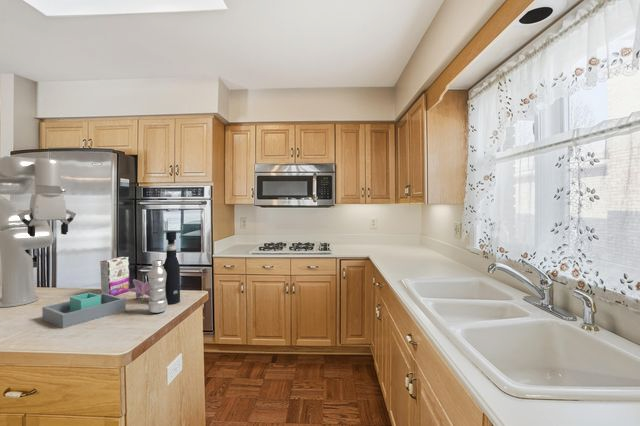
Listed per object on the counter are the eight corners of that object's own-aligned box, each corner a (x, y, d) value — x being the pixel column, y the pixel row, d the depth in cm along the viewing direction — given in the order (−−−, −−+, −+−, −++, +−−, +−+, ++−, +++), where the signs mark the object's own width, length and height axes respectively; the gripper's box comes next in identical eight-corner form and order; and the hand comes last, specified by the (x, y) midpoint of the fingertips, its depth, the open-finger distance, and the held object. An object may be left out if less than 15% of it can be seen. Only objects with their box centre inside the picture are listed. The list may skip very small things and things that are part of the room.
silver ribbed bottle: (171, 310, 118) (171, 259, 118) (157, 316, 112) (156, 262, 112) (158, 308, 121) (158, 258, 120) (144, 314, 114) (143, 261, 114)
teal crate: (70, 312, 113) (69, 296, 112) (89, 307, 118) (89, 292, 118) (81, 316, 108) (80, 300, 108) (101, 311, 114) (100, 295, 114)
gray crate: (42, 319, 108) (42, 307, 108) (104, 303, 126) (104, 293, 126) (63, 328, 101) (62, 315, 101) (125, 310, 118) (125, 298, 118)
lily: (165, 300, 133) (164, 279, 137) (146, 297, 123) (146, 275, 127) (141, 308, 134) (140, 287, 138) (120, 306, 124) (120, 283, 128)
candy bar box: (121, 290, 146) (120, 256, 146) (130, 290, 145) (129, 256, 145) (100, 297, 135) (99, 260, 135) (109, 297, 134) (109, 261, 134)
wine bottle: (168, 299, 131) (167, 231, 130) (183, 300, 131) (182, 231, 130) (160, 304, 125) (159, 232, 124) (175, 304, 125) (174, 232, 124)
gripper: (70, 191, 125) (70, 232, 126) (13, 189, 110) (14, 236, 111) (79, 192, 122) (79, 234, 122) (21, 190, 106) (22, 238, 107)
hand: (48, 235), depth 116 cm, fingers open, 9 cm apart
